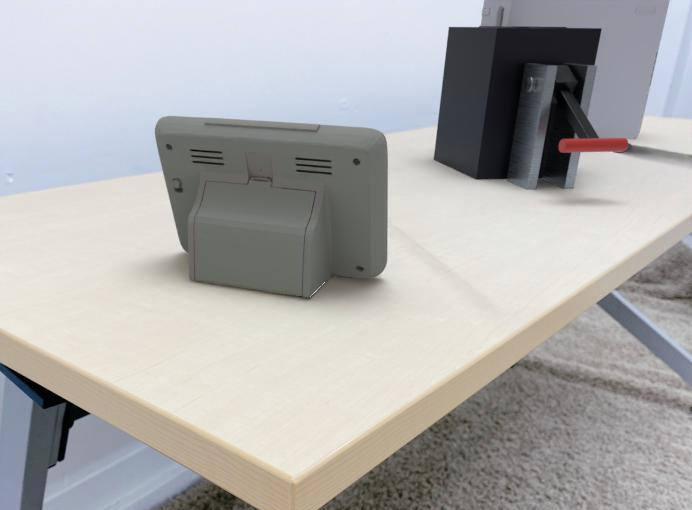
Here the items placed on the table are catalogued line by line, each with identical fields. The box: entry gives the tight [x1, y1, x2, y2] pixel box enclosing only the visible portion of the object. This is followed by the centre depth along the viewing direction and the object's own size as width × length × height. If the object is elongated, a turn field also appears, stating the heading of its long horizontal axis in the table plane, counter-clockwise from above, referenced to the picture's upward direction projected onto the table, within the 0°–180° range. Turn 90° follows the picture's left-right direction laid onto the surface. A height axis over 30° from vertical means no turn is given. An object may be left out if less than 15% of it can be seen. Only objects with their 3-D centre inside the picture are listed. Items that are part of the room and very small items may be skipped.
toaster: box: [433, 25, 602, 181], centre depth 78 cm, size 12×11×16 cm
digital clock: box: [154, 115, 389, 298], centre depth 48 cm, size 16×9×11 cm, turn 55°
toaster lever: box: [551, 65, 629, 153], centre depth 67 cm, size 11×6×2 cm
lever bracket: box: [506, 63, 597, 190], centre depth 71 cm, size 5×7×13 cm
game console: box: [479, 0, 671, 152], centre depth 93 cm, size 6×27×20 cm, turn 115°
